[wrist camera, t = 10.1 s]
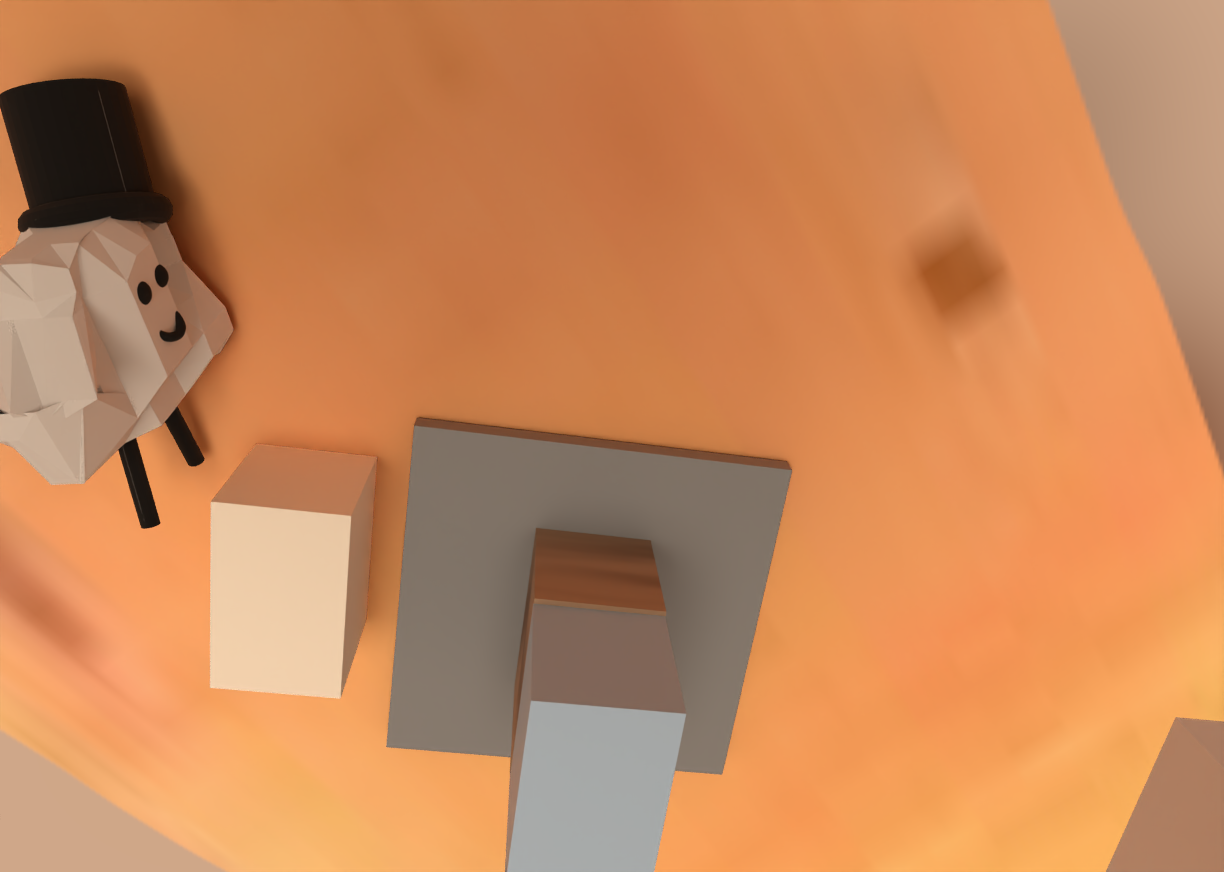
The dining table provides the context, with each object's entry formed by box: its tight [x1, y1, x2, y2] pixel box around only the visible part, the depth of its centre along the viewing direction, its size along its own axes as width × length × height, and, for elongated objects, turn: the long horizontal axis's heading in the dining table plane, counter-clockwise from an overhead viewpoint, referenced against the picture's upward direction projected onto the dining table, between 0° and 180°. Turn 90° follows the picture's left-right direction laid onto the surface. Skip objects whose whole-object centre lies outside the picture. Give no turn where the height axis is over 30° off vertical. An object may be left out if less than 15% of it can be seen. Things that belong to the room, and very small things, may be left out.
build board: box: [386, 418, 792, 774], centre depth 44 cm, size 16×16×1 cm
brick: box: [210, 443, 377, 698], centre depth 40 cm, size 8×5×6 cm, turn 172°
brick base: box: [510, 528, 666, 773], centre depth 41 cm, size 8×5×6 cm, turn 172°
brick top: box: [505, 604, 686, 872], centre depth 35 cm, size 8×5×6 cm, turn 172°
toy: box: [0, 78, 234, 529], centre depth 35 cm, size 6×12×15 cm
